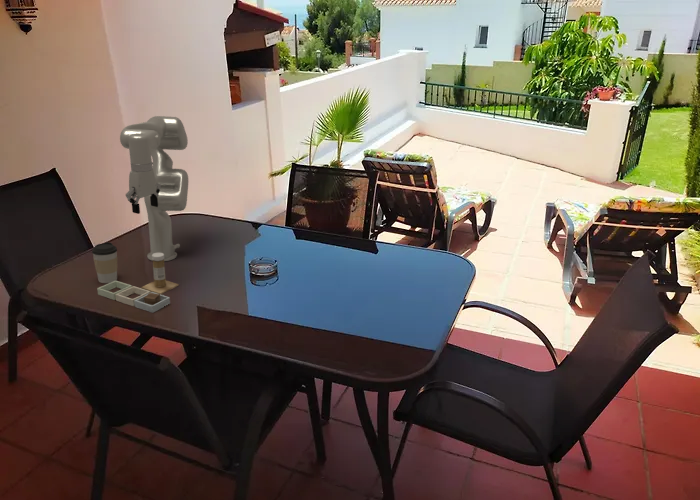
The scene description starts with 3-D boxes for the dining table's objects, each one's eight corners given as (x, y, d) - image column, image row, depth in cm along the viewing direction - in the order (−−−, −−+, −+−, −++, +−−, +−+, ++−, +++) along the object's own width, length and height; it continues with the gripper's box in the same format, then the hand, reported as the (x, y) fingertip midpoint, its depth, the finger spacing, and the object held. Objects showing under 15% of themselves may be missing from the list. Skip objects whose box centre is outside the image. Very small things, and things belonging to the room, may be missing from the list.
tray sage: (116, 286, 204) (115, 280, 203) (132, 291, 201) (131, 285, 200) (98, 294, 197) (97, 288, 196) (114, 300, 194) (113, 293, 193)
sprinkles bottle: (166, 282, 209) (163, 251, 204) (166, 287, 205) (164, 256, 200) (154, 283, 207) (151, 252, 202) (154, 288, 203) (151, 256, 198)
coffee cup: (110, 285, 204) (107, 250, 199) (90, 282, 206) (86, 247, 201) (124, 276, 213) (121, 242, 207) (104, 273, 214) (101, 239, 209)
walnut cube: (150, 302, 194) (149, 292, 192) (160, 304, 193) (159, 294, 192) (144, 307, 190) (144, 297, 189) (154, 308, 190) (154, 299, 188)
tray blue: (152, 298, 197) (152, 291, 196) (170, 303, 194) (169, 297, 193) (135, 306, 190) (134, 300, 189) (152, 312, 186) (152, 306, 185)
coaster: (159, 279, 212) (159, 278, 212) (178, 285, 209) (178, 284, 208) (141, 288, 204) (141, 287, 204) (160, 294, 200) (160, 293, 200)
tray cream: (134, 292, 201) (133, 286, 200) (150, 297, 197) (150, 291, 196) (116, 300, 193) (115, 294, 192) (133, 306, 190) (132, 299, 189)
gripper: (150, 160, 205) (154, 202, 212) (116, 170, 190) (121, 213, 197) (165, 164, 202) (168, 205, 209) (131, 173, 187) (136, 217, 194)
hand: (145, 209), depth 203 cm, fingers open, 9 cm apart
